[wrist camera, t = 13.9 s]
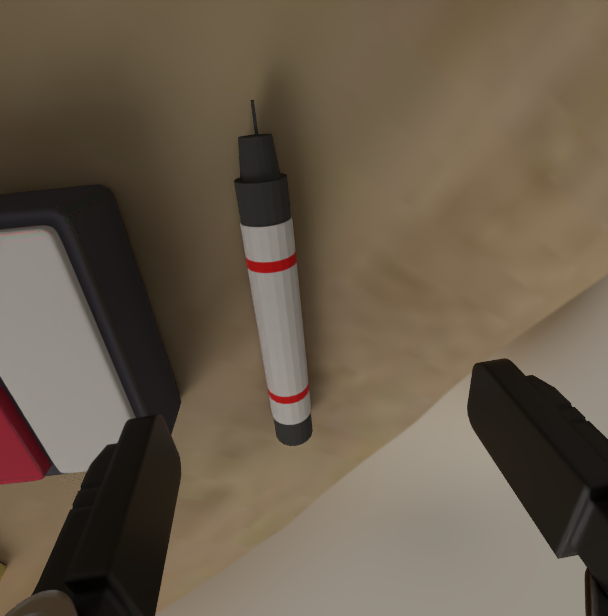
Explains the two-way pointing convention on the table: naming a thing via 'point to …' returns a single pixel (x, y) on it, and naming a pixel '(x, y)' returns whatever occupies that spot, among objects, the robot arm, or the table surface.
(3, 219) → the calculator
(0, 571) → the sticky pad
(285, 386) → the marker
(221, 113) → the table surface
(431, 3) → the table surface
